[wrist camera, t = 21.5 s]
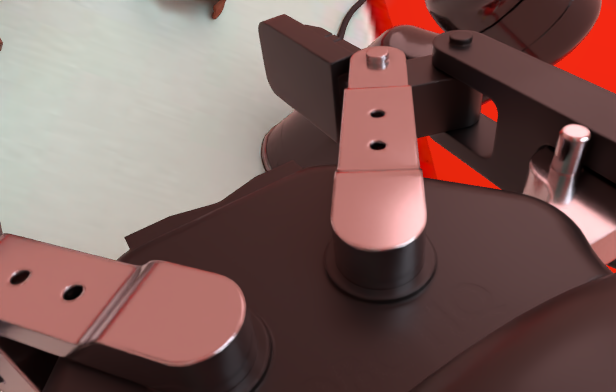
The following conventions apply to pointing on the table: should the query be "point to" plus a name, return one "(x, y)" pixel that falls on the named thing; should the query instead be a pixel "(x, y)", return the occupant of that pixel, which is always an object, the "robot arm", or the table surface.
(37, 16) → the table surface
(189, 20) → the table surface
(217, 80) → the table surface
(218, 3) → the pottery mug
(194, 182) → the table surface
